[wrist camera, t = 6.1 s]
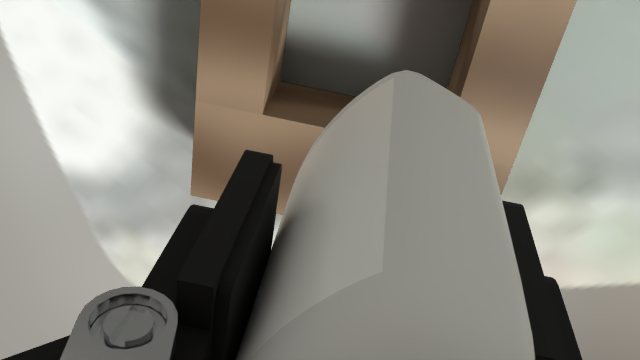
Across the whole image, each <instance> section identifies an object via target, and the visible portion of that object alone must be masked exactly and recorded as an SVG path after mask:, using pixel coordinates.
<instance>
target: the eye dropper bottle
mask: <svg viewBox="0 0 640 360" xmlns="http://www.w3.org/2000/svg"><path fill="white" fill-rule="evenodd" d="M235 360H535V353H534V344H533V336H532V331H531V326H530V321H529V317H528V312H527V307H526V302H525V297H524V292H523V287H522V283H521V278H520V274H519V269H518V265H517V261H516V257H515V253H514V248H513V244H512V240H511V236H510V232H509V228H508V223H507V219H506V215H505V211H504V207H503V202H502V198H501V194H500V190H499V186H498V182H497V178H496V174H495V170H494V166H493V162H492V158H491V154H490V150H489V146H488V142H487V138H486V134H485V130H484V126H483V122H482V118H481V115H480V114H479V113H478V112H477V110H476V109H475V108H474V107H473V106H472V105H471V104H469V103H468V102H466V101H465V100H463V99H462V98H460V97H459V96H457V95H455V94H454V93H452V92H451V91H449V90H447V89H446V88H444V87H442V86H441V85H439V84H438V83H436V82H434V81H433V80H431V79H429V78H427V77H425V76H424V75H422V74H420V73H416V72H413V71H409V70H403V71H399V72H395V73H392V74H390V75H388V76H386V77H384V78H383V79H381V80H379V81H378V82H376V83H375V84H373V85H372V86H370V87H369V88H367V89H366V90H365V91H363V92H362V93H361V94H360V95H358V96H357V97H356V98H354V99H353V100H352V101H351V102H350V103H349V104H348V105H346V106H345V107H344V108H343V109H342V110H341V111H340V112H339V113H338V114H337V115H336V116H335V117H334V118H333V119H332V121H331V122H330V123H329V124H328V125H327V126H326V128H325V129H324V130H323V131H322V133H321V134H320V135H319V137H318V138H317V139H316V141H315V142H314V144H313V145H312V147H311V149H310V150H309V152H308V154H307V155H306V157H305V159H304V161H303V163H302V165H301V167H300V169H299V172H298V174H297V176H296V179H295V181H294V184H293V187H292V190H291V193H290V196H289V198H288V201H287V204H286V207H285V210H284V213H283V216H282V219H281V222H280V225H279V228H278V231H277V234H276V237H275V240H274V243H273V246H272V249H271V252H270V255H269V258H268V261H267V265H266V268H265V271H264V274H263V277H262V280H261V283H260V286H259V289H258V292H257V295H256V298H255V301H254V304H253V307H252V310H251V313H250V316H249V319H248V322H247V325H246V328H245V331H244V334H243V337H242V340H241V343H240V346H239V349H238V352H237V355H236V358H235Z"/></svg>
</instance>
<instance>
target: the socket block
mask: <svg viewBox="0 0 640 360" xmlns="http://www.w3.org/2000/svg"><path fill="white" fill-rule="evenodd" d="M576 1H577V0H473V4H472V7H471V10H470V14H469V17H468V20H467V24H466V27H465V31H464V34H463V37H462V41H461V44H460V48H459V51H458V54H457V58H456V61H455V64H454V68H453V71H452V75H451V78H450V81H449V85H448V88H447V90H449V91H451V92H452V93H454V94H455V95H457V96H459V97H460V98H462V99H463V100H465V101H466V102H468V103H469V104H471V105H472V106H473V107H474V108H475V109H476V110H477V112H478V113H479V114H480V115H481V118H482V122H483V126H484V130H485V134H486V138H487V142H488V146H489V150H490V154H491V158H492V162H493V166H494V170H495V174H496V178H497V182H498V186H499V190H500V194H502V191H503V189H504V186H505V184H506V181H507V179H508V176H509V173H510V171H511V168H512V166H513V163H514V161H515V158H516V155H517V153H518V150H519V148H520V145H521V143H522V140H523V137H524V135H525V132H526V130H527V127H528V125H529V122H530V119H531V117H532V114H533V112H534V109H535V107H536V104H537V101H538V99H539V96H540V94H541V91H542V89H543V86H544V83H545V81H546V78H547V76H548V73H549V70H550V68H551V65H552V63H553V60H554V58H555V55H556V52H557V50H558V47H559V45H560V42H561V40H562V37H563V34H564V32H565V29H566V27H567V24H568V22H569V19H570V16H571V14H572V11H573V9H574V6H575V4H576ZM290 3H291V0H201V6H200V25H199V44H198V63H197V82H196V102H195V121H194V140H193V159H192V178H191V195H192V196H197V197H202V198H206V199H211V200H216V201H218V200H219V198H220V196H221V195H222V193H223V191H224V189H225V187H226V185H227V183H228V181H229V179H230V177H231V176H232V174H233V172H234V170H235V168H236V166H237V164H238V162H239V160H240V159H241V157H242V155H243V153H244V151H245V150H251V151H256V152H261V153H266V154H271V155H273V162H275V163H280V164H282V172H281V180H280V187H279V194H278V202H277V209H276V213H277V214H282V215H283V213H284V210H285V207H286V204H287V201H288V198H289V196H290V193H291V190H292V187H293V184H294V181H295V179H296V176H297V174H298V172H299V169H300V167H301V165H302V163H303V161H304V159H305V157H306V155H307V154H308V152H309V150H310V149H311V147H312V145H313V144H314V142H315V141H316V139H317V138H318V137H319V135H320V134H321V133H322V131H323V130H324V129H325V128H326V126H327V125H328V124H329V123H330V122H331V121H332V119H333V118H334V117H335V116H336V115H337V114H338V113H339V112H340V111H341V110H342V109H343V108H344V107H345V106H346V105H348V104H349V103H350V102H351V101H352V100H353V99H354V98H356V97H354V96H349V95H344V94H339V93H334V92H329V91H324V90H320V89H315V88H310V87H305V86H300V85H295V84H290V83H285V82H281V81H280V79H281V71H282V64H283V56H284V49H285V41H286V34H287V26H288V19H289V11H290Z"/></svg>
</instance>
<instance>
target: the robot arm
mask: <svg viewBox="0 0 640 360" xmlns="http://www.w3.org/2000/svg"><path fill="white" fill-rule="evenodd" d="M281 172H282V164H280V163H275V162H273V155H271V154H266V153H261V152H256V151H251V150H245V151H244V153H243V155H242V157H241V159H240V160H239V162H238V164H237V166H236V168H235V170H234V172H233V174H232V176H231V177H230V179H229V181H228V183H227V185H226V187H225V189H224V191H223V193H222V195H221V196H220V198H219V200H218V202H217V204H216V206H215V208H209V207H204V206H199V205H191V206H190V207H189V209H188V210H187V212H186V213H185V215H184V217H183V218H182V220H181V222H180V223H179V225H178V227H177V228H176V230H175V232H174V234H173V235H172V237H171V239H170V240H169V242H168V244H167V245H166V247H165V249H164V250H163V252H162V254H161V255H160V257H159V259H158V260H157V262H156V264H155V265H154V267H153V269H152V270H151V272H150V274H149V275H148V277H147V279H146V281H145V282H144V284H143V286H142V287H122V288H118V289H114V290H109V291H107V292H105V293H103V294H101V295H99V296H97V297H95V298H94V299H93V300H91V301H90V302H89V303H88V304H87V305H85V307H84V308H83V310H82V311H81V313H80V314H79V316H78V318H77V320H76V323H75V325H74V328H73V330H72V332H71V335H69V336H67V337H64V338H61V339H58V340H55V341H53V342H50V343H47V344H44V345H42V346H39V347H36V348H33V349H30V350H27V351H25V352H22V353H19V354H16V355H13V356H11V357H8V358H5V359H2V360H235V358H236V355H237V352H238V349H239V346H240V343H241V340H242V337H243V334H244V331H245V328H246V325H247V322H248V319H249V316H250V313H251V310H252V307H253V304H254V301H255V298H256V295H257V292H258V289H259V286H260V283H261V280H262V277H263V274H264V271H265V268H266V265H267V261H268V258H269V255H270V252H271V246H272V239H273V231H274V224H275V217H276V209H277V202H278V194H279V187H280V180H281ZM502 202H503V207H504V211H505V215H506V219H507V223H508V228H509V232H510V236H511V240H512V244H513V248H514V253H515V257H516V261H517V265H518V269H519V274H520V278H521V283H522V287H523V292H524V297H525V302H526V307H527V312H528V317H529V321H530V326H531V331H532V336H533V344H534V353H535V360H582V357H581V354H580V351H579V348H578V345H577V342H576V339H575V335H574V333H573V329H572V326H571V323H570V320H569V317H568V314H567V311H566V308H565V305H564V301H563V299H562V295H561V292H560V289H559V286H558V284H557V282H556V280H555V279H553V278H552V277H547V276H544V274H543V270H542V267H541V264H540V260H539V257H538V254H537V250H536V247H535V243H534V240H533V237H532V233H531V230H530V227H529V223H528V220H527V217H526V213H525V210H524V207H523V205H521V204H516V203H511V202H506V201H502Z"/></svg>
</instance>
